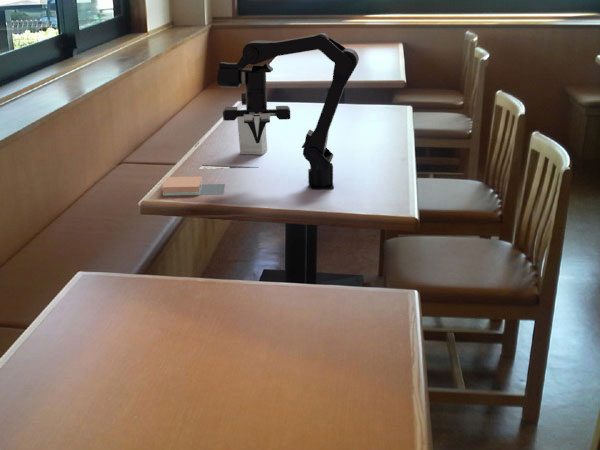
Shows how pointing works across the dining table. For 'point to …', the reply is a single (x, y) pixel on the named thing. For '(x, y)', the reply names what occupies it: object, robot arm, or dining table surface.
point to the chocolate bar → (221, 167)
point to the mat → (212, 189)
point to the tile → (182, 186)
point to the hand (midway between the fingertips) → (257, 142)
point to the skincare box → (251, 138)
